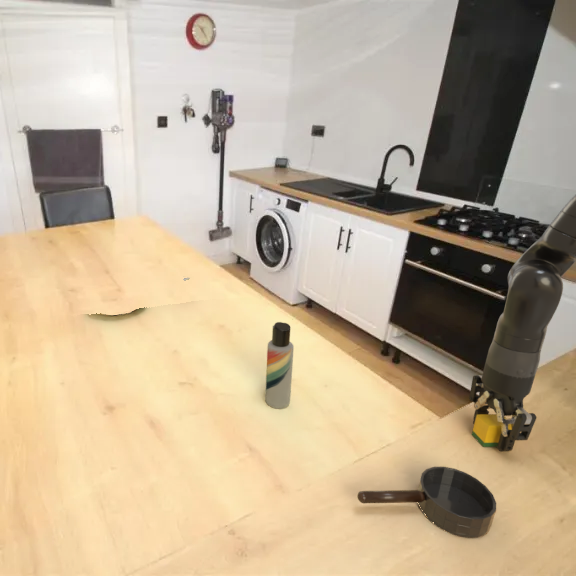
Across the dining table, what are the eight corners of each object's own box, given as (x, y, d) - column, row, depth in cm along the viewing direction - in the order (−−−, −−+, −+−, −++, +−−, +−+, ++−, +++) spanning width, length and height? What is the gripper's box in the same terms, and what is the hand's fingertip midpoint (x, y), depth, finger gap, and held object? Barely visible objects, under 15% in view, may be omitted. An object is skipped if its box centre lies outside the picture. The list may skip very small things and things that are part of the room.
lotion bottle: (274, 391, 100) (278, 317, 93) (294, 401, 96) (300, 324, 89) (260, 402, 96) (263, 325, 89) (280, 412, 92) (285, 333, 85)
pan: (464, 483, 72) (468, 465, 71) (506, 537, 63) (512, 518, 61) (405, 484, 72) (408, 467, 71) (438, 538, 63) (443, 519, 61)
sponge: (495, 434, 84) (501, 413, 82) (508, 446, 80) (514, 425, 79) (471, 434, 84) (476, 414, 82) (483, 447, 80) (488, 426, 79)
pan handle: (420, 495, 68) (422, 487, 67) (426, 504, 66) (428, 496, 65) (354, 496, 68) (356, 488, 67) (359, 506, 66) (360, 497, 65)
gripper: (563, 386, 70) (537, 463, 75) (503, 346, 83) (485, 414, 89) (519, 387, 70) (496, 464, 75) (466, 347, 83) (450, 414, 89)
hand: (490, 437), depth 82 cm, fingers open, 6 cm apart
